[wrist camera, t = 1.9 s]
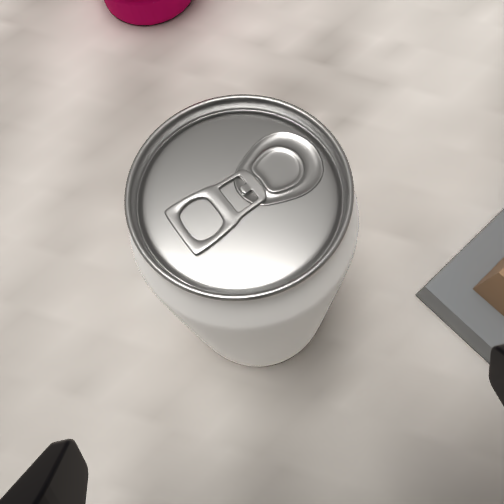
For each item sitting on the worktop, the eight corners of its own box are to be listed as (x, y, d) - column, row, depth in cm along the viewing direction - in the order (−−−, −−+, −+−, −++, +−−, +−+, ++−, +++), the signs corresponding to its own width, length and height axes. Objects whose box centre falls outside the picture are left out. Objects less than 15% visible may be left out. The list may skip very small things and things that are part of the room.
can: (349, 315, 21) (431, 210, 10) (242, 396, 20) (200, 381, 9) (271, 219, 23) (265, 41, 12) (170, 289, 22) (60, 166, 11)
